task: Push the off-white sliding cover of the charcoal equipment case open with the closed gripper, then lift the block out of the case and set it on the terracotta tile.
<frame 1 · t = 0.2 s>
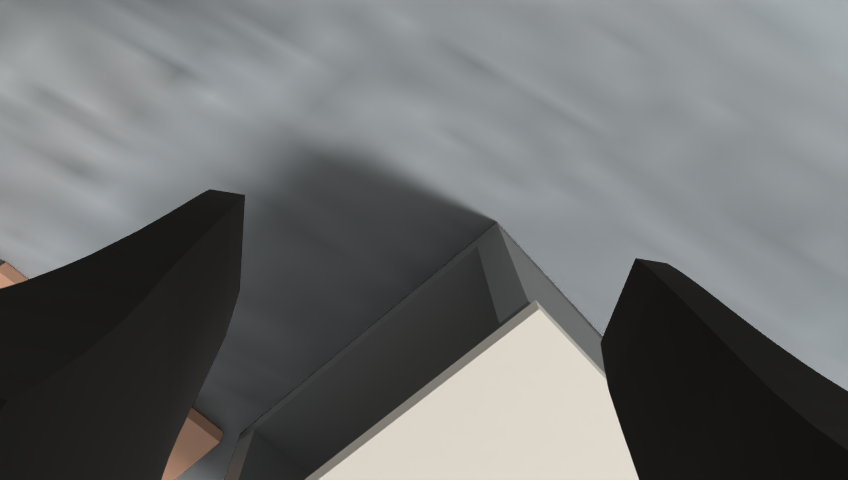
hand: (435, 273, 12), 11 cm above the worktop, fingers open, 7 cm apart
case: (473, 437, 27), on the worktop
tile: (38, 428, 26), on the worktop
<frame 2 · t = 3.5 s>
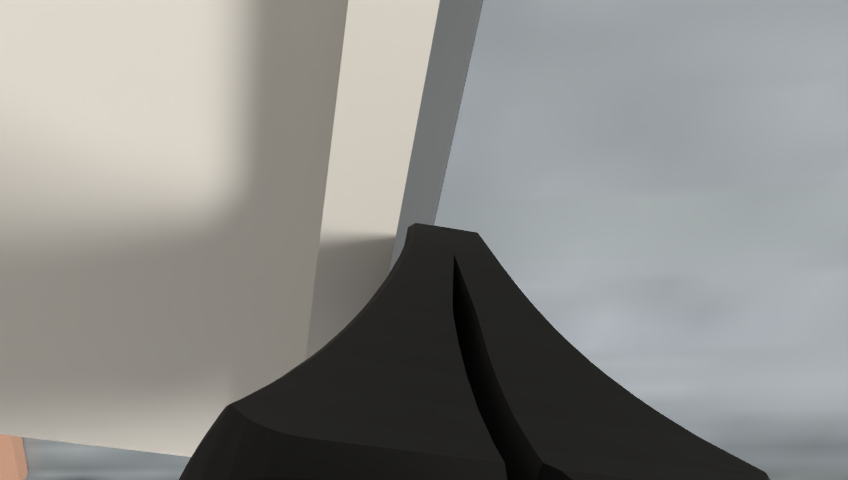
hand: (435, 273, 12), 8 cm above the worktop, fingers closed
case: (220, 88, 18), on the worktop
cover: (22, 203, 12), point 7 cm above the worktop, slide at 1.6 cm, touching gripper
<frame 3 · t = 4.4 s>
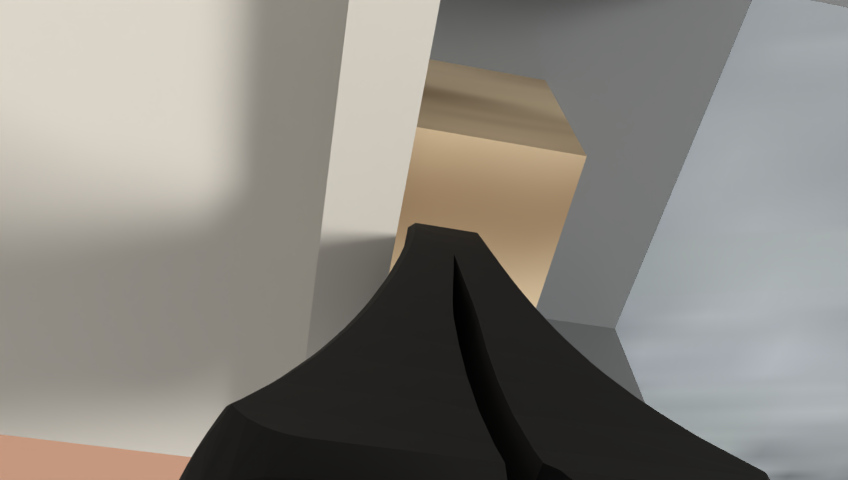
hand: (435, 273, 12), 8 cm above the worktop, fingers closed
block: (455, 137, 18), point 1 cm above the worktop, touching case
case: (454, 129, 19), on the worktop
tile: (57, 385, 24), on the worktop
cover: (22, 204, 12), point 7 cm above the worktop, slide at 8.1 cm, touching gripper
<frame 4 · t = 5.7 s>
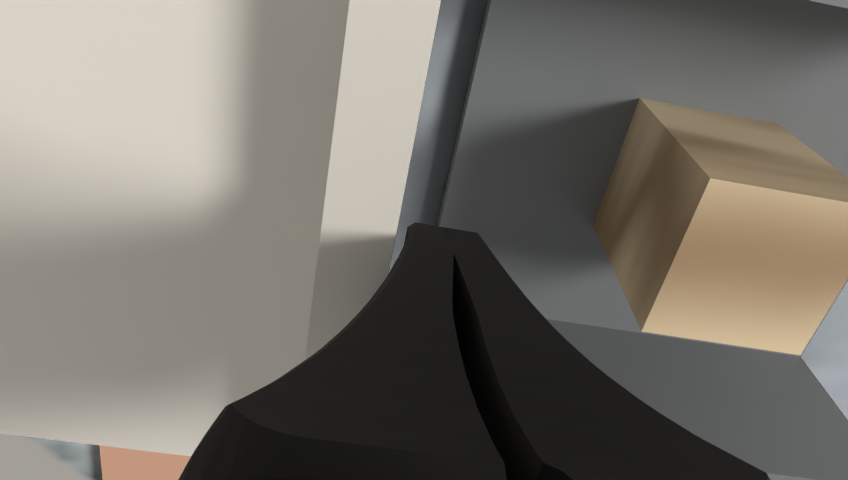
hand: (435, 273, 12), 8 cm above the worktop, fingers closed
block: (681, 177, 19), point 1 cm above the worktop, touching case
case: (674, 168, 19), on the worktop
tile: (243, 408, 24), on the worktop
cover: (22, 202, 12), point 7 cm above the worktop, slide at 14.7 cm, touching gripper
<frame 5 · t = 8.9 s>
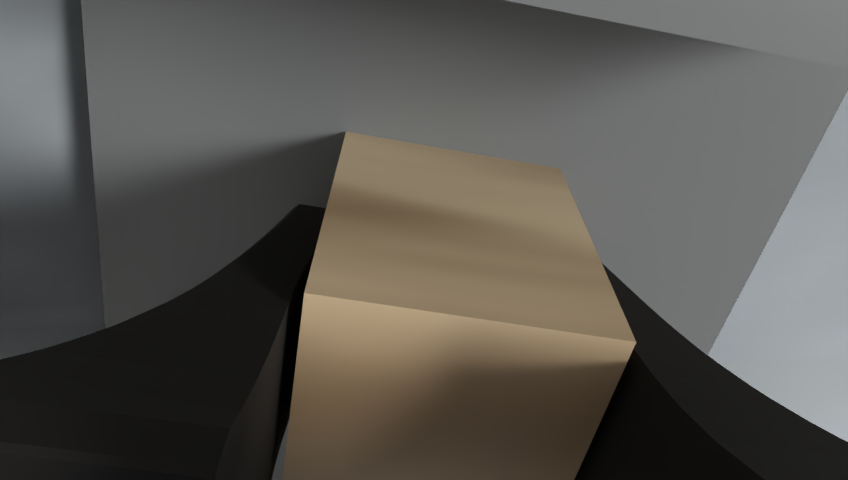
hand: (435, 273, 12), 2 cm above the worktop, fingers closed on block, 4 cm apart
block: (433, 242, 13), point 1 cm above the worktop, touching case, gripper
case: (433, 227, 14), on the worktop
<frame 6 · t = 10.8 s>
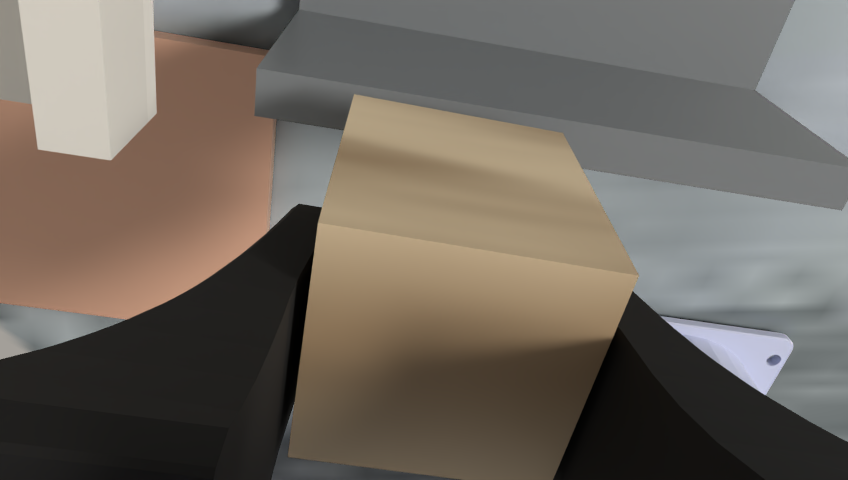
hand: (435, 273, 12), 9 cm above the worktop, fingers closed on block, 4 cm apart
block: (438, 207, 13), point 7 cm above the worktop, touching gripper
tile: (111, 181, 21), on the worktop
when the fingers open (3 cm above the worktop, at t = 13.0 s): block stays where it is, resting on tile.
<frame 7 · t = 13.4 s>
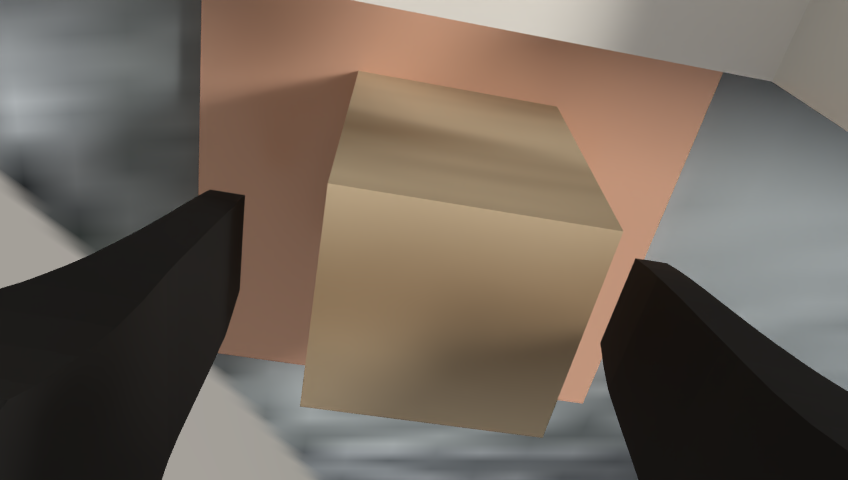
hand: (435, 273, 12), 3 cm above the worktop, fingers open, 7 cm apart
block: (439, 179, 14), point 1 cm above the worktop, touching tile
tile: (432, 194, 15), on the worktop
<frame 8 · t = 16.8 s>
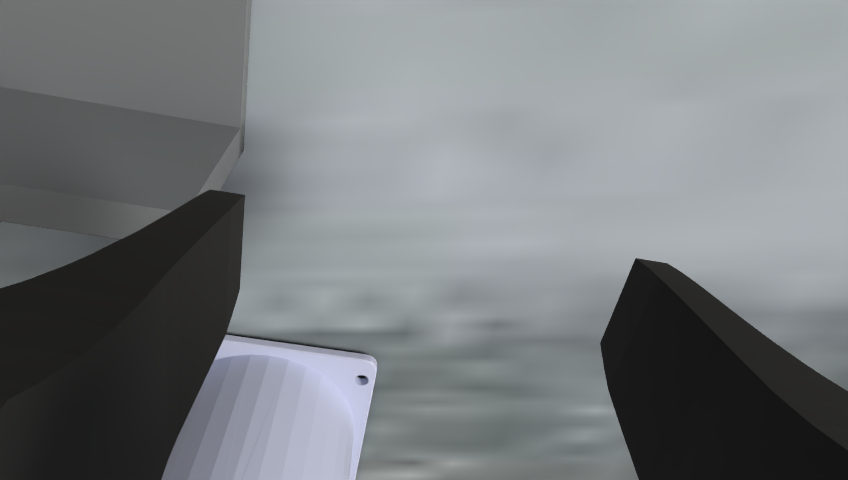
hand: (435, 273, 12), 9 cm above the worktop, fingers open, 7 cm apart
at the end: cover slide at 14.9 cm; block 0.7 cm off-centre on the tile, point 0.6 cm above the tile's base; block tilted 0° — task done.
